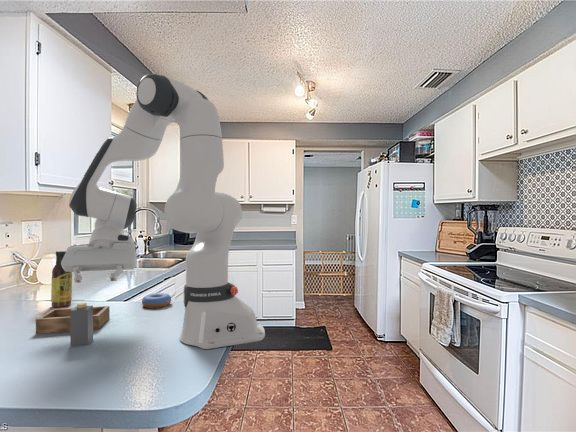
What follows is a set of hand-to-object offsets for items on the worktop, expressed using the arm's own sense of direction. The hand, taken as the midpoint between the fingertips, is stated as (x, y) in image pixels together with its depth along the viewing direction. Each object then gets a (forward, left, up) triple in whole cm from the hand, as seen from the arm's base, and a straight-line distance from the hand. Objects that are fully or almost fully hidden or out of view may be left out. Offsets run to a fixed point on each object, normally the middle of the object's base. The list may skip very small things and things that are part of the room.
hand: (95, 280), depth 101 cm
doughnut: (-13, -24, -14) cm, 31 cm away
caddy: (+7, -5, -14) cm, 16 cm away
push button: (0, +11, -14) cm, 18 cm away
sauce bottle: (+20, -32, -14) cm, 40 cm away
